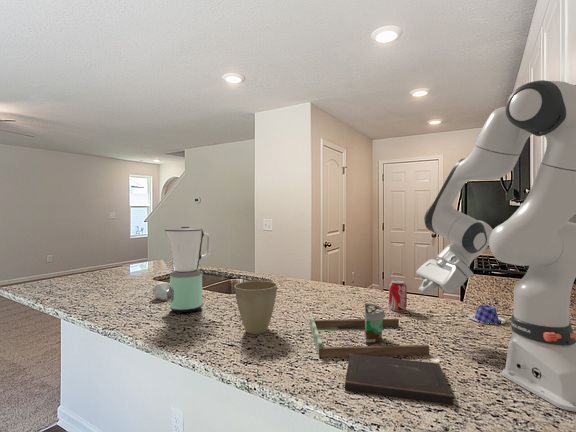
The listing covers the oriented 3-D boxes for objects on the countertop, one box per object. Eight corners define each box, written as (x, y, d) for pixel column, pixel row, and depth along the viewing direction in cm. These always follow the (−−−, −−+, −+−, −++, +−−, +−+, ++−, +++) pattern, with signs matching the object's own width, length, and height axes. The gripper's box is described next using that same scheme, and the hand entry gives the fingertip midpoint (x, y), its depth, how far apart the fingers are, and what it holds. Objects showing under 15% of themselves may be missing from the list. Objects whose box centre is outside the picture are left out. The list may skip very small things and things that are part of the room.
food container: (386, 348, 99) (387, 315, 98) (366, 346, 100) (366, 314, 100) (383, 332, 111) (383, 303, 110) (364, 331, 112) (364, 302, 112)
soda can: (395, 313, 132) (395, 283, 131) (385, 308, 138) (385, 280, 138) (410, 311, 134) (410, 282, 133) (399, 306, 140) (400, 279, 140)
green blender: (168, 317, 127) (168, 228, 126) (162, 309, 138) (161, 226, 138) (216, 310, 137) (215, 226, 136) (206, 302, 148) (205, 225, 147)
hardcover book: (349, 361, 91) (349, 353, 91) (439, 372, 85) (439, 363, 85) (344, 393, 75) (344, 383, 75) (453, 408, 69) (453, 397, 69)
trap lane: (429, 355, 94) (429, 341, 94) (319, 358, 92) (318, 343, 92) (397, 326, 118) (397, 314, 118) (309, 327, 116) (309, 315, 116)
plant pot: (285, 327, 116) (285, 283, 116) (261, 342, 103) (261, 292, 103) (251, 320, 124) (251, 278, 123) (225, 333, 111) (225, 286, 111)
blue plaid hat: (512, 327, 116) (512, 312, 116) (475, 325, 119) (475, 310, 118) (496, 316, 128) (497, 303, 128) (464, 314, 130) (464, 301, 130)
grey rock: (156, 297, 159) (146, 284, 153) (172, 287, 162) (163, 274, 156) (160, 307, 153) (150, 294, 147) (177, 296, 156) (168, 283, 150)
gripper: (429, 251, 116) (402, 278, 116) (462, 261, 96) (429, 294, 96) (441, 263, 117) (414, 290, 116) (477, 275, 96) (444, 309, 96)
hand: (421, 292), depth 106 cm, fingers closed
